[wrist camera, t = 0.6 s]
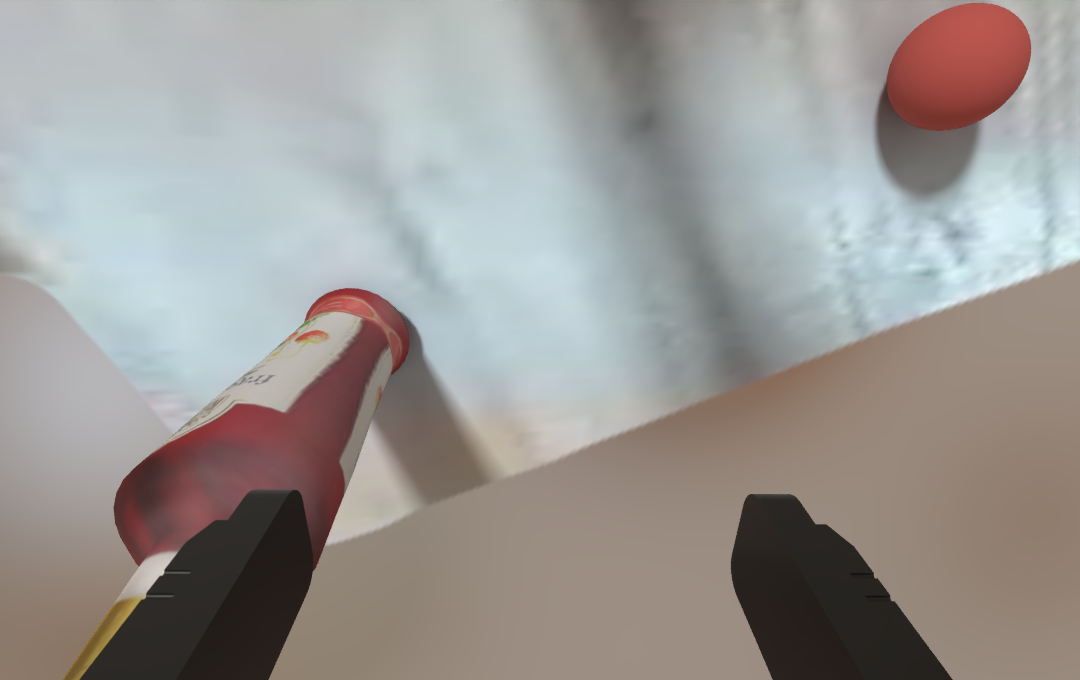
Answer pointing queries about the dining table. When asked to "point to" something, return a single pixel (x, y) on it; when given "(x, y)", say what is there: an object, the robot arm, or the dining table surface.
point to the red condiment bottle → (262, 442)
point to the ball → (958, 66)
